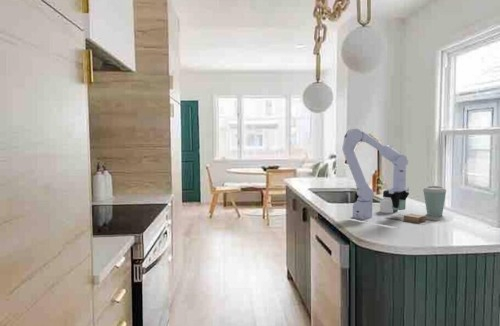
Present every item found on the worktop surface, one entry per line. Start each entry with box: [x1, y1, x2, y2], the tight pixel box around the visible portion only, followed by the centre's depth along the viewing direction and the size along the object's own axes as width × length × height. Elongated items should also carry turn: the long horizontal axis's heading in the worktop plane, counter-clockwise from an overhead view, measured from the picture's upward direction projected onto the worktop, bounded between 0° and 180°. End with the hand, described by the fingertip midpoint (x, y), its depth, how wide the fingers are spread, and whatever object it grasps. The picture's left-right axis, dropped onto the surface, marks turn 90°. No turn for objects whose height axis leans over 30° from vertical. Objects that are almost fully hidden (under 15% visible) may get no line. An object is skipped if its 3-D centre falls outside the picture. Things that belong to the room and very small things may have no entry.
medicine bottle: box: [379, 189, 399, 214], centre depth 216 cm, size 7×7×12 cm
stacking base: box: [385, 213, 438, 226], centre depth 196 cm, size 14×20×4 cm
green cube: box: [392, 199, 407, 211], centre depth 202 cm, size 4×4×4 cm
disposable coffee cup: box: [422, 185, 447, 217], centre depth 208 cm, size 11×11×15 cm
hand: (398, 207), depth 202 cm, fingers closed on green cube, 4 cm apart
